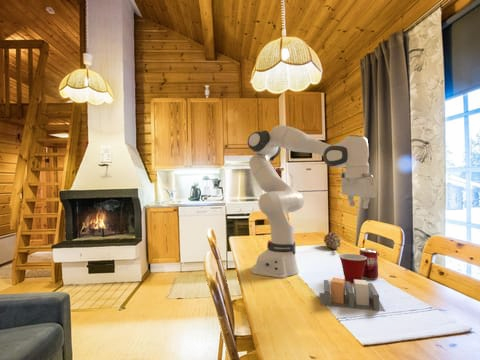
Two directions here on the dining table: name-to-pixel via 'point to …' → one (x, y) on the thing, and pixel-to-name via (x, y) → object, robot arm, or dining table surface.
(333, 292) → the orange block
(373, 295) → the grey slotted rack
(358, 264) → the plastic cup
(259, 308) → the dining table surface
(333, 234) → the pine cone
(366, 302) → the cream rectangular block
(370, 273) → the soda can
